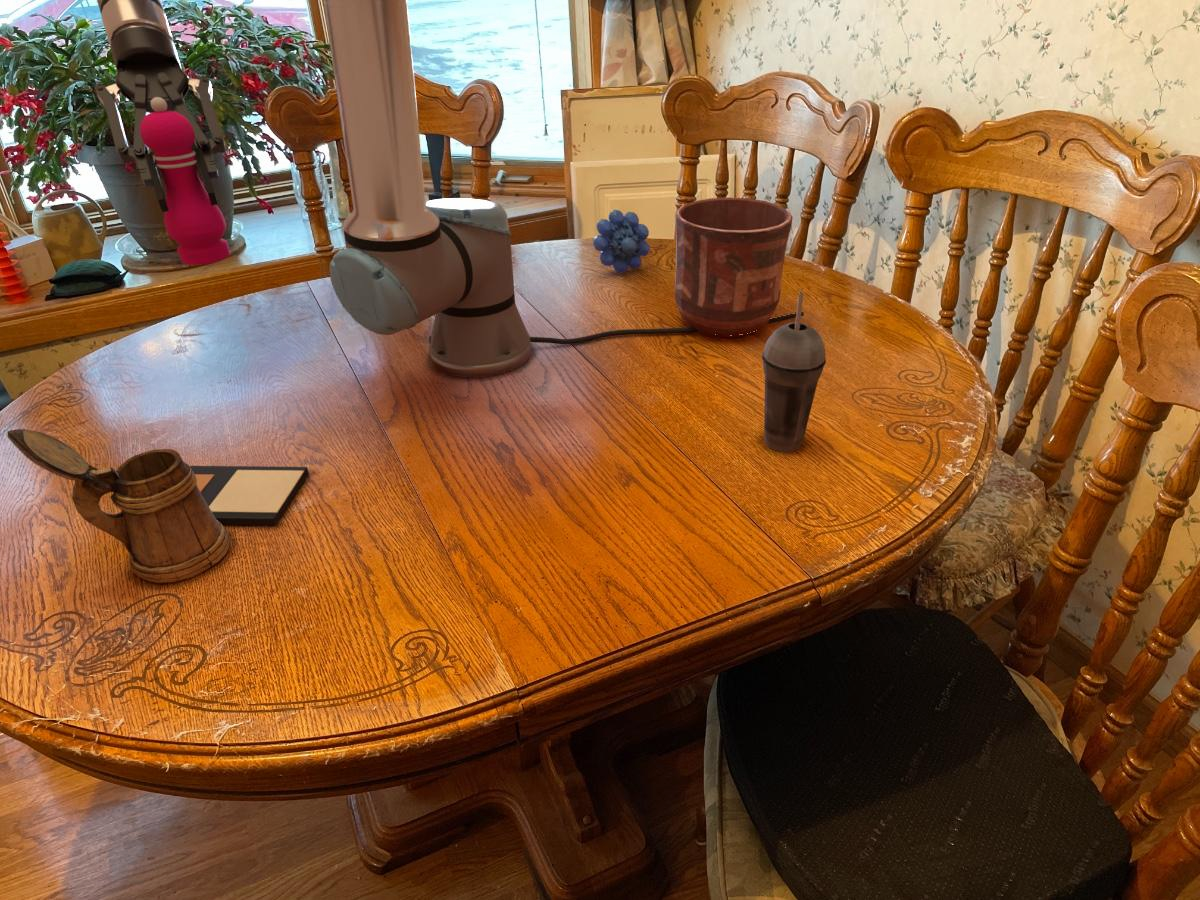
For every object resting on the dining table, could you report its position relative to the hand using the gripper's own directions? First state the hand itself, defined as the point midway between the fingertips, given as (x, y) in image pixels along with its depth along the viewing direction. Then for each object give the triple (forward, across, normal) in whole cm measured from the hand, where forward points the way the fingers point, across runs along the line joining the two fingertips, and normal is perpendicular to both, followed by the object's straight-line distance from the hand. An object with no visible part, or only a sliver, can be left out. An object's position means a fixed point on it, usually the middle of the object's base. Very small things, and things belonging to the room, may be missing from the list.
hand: (188, 202), depth 98 cm
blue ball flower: (+10, -69, -27) cm, 75 cm away
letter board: (+39, +5, +2) cm, 39 cm away
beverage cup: (+54, -58, +16) cm, 80 cm away
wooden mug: (+45, +12, +8) cm, 47 cm away
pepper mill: (+3, 0, -9) cm, 9 cm away
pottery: (+30, -72, -7) cm, 79 cm away
